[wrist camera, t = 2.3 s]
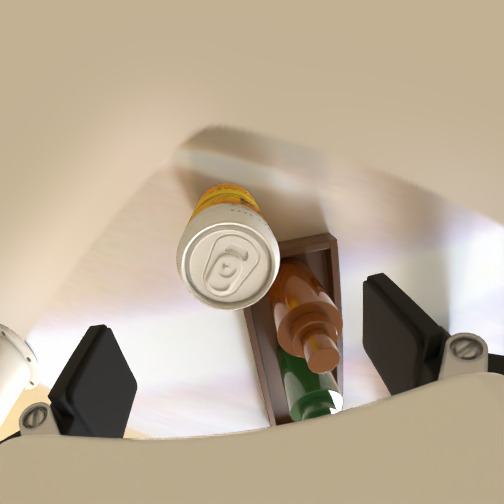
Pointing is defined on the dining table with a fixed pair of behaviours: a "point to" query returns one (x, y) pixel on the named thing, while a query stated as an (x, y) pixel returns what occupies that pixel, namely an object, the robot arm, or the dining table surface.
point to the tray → (263, 331)
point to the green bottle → (307, 388)
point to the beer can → (227, 250)
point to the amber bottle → (304, 315)
